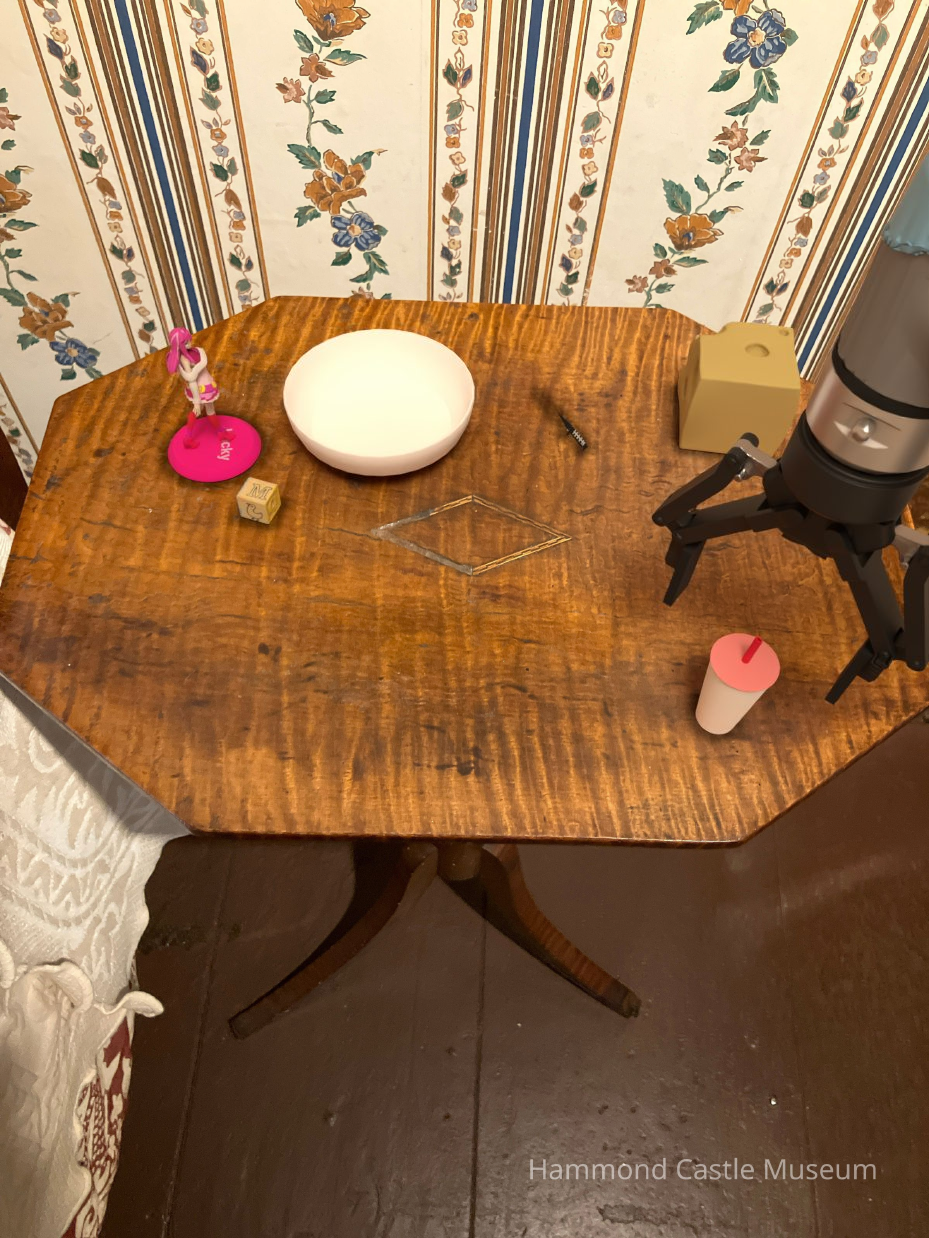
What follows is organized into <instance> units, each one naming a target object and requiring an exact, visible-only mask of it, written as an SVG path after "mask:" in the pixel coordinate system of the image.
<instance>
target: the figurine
mask: <svg viewBox="0 0 929 1238" xmlns="http://www.w3.org/2000/svg"><path fill="white" fill-rule="evenodd" d="M168 341H169V343H170V350H169V352H167V353H166V356H165V362H166V367H167V371H168V372H169V374H170V375H174V374H176V375H177V376H180V377H181V378H182V379H184V386H185V388H183V391H184V395H186V399H187V400H188V401H189V402H192V404H193V408H192V410H191V411H190V412H189V415H188V416H187V424H186V425H184V426H182V427H181V428H180V429H179V430H178V431H177V432H176V433H174V436H173V437H172V439H171V440H170V442H169V445H168V448H167V458H168V462H169V464H170V466H171V468H172V469H173V470H174V471H175V472H176V473H177V474H179V475H180V476H181V477H183V478H186V479H189V480H192V481H195V482H202V483H203V482H204V483H214V482H222V481H226V480H229V479H233V478H235V477H236V476H239V475H241V474H243V473H244V472H246V471H247V470H249V468H251V467H252V466H253V465H254V463H256V461H257V460H258V458H259V456H260V454H261V451H262V440H261V435H260V434H259V432H258V431H257V430H256V429H255V428H254V427H253V425H251V424H250V423H248V422H247V421H245V420H243V419H242V418H239V417H235V416H231V415H223V414H222V415H221V414H219V415H217V414H216V411H215V405H214V402H215V401H216V400H218V399H219V397H220V393H221V392H220V390H219V389H220V388H219V387H218V383H217V381H216V380H215V378H213V377H212V375H211V374H210V372H209V371H208V369H207V366H208V356H207V354H206V352H205V350H204V348H203V347H199V346H197V347H192V341H193V337H192V334H191V333H190V330H189V329H187V328H186V327H183V326H182V327H175V328H173V329H171V330H170V331H169V334H168ZM204 406H205V413H206V416H204V417H200V418H198V417H199V416H200V415H201V412H202V410H203V409H204Z"/></svg>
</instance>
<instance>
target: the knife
mask: <svg viewBox="0 0 929 1238" xmlns="http://www.w3.org/2000/svg"><path fill="white" fill-rule="evenodd" d="M557 414H558V416H559V418H560V419H561V421H562V423H563V425H564V427H565V429H566V430H567V431H566V434H565V436H569V435H571V436H572V437H573V439H574V440H575V441H576V443H577V444H579V446H580V447H581V452H583V451H585V450H586V449H587V448H588V447H589V446H588V444H587V442H586V441H585V440H584V439H583V437H582V435H581V434H580V433H579V432H578V431H577V429H576V428H574V427H573V425H572V424H570V422H569V421H567V420H566V418H565V417H564V416H562V414H561V413H560V412H557Z"/></svg>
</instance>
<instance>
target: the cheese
mask: <svg viewBox="0 0 929 1238" xmlns="http://www.w3.org/2000/svg"><path fill="white" fill-rule="evenodd" d="M795 346H796V345H795V331H794V328H793V327H790V326H789V327H788V326H783V325H775V324H768V323H762V322H747V321H730V322H727V323H725V324H724V325H723V326H722V327H721V329H720V330H719V331H717V332H716V333H715V334H696V335H695V336H694V337H693V339H692V341H691V343H690V345H689V348H688V354H687V360H686V363H685V365H683V366H682V368H681V370H680V373H679V375H678V379H677V398H678V406H679V407H678V408H679V434H678V435H679V436H678V437H679V438H678V439H679V440H678V443H679V444H678V445H679V446H678V447H679V448H680V449H681V450H691V451H699V452H708V453H710V452H711V453H717V454H724V455H726V454H727V452H728V451H729V450H730V449H731V448H732V447H733V445H734V444H735V443H736V442H737V441H738V440H739V439H740V437H741V436H742V435H743V434H744V433H747V432H750V433H753V434H755V435H756V436H757V437H758V439H759V445H758V447H757V448H758V449H759V450H761V451H762V452H764V453H766V454H767V455H769V456H770V457H772V458H773V456H774V455H775V453H776V452H777V451H778V449H779V448H780V446H781V445H782V443H783V442H784V440H785V439H786V436H787V434H788V433H789V430H790V428H791V427H792V424H793V422H794V419H795V417H796V415H797V412H798V408H799V404H800V397H801V393H802V384H801V376H800V371H799V366H798V360H797V356H796V347H795Z"/></svg>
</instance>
